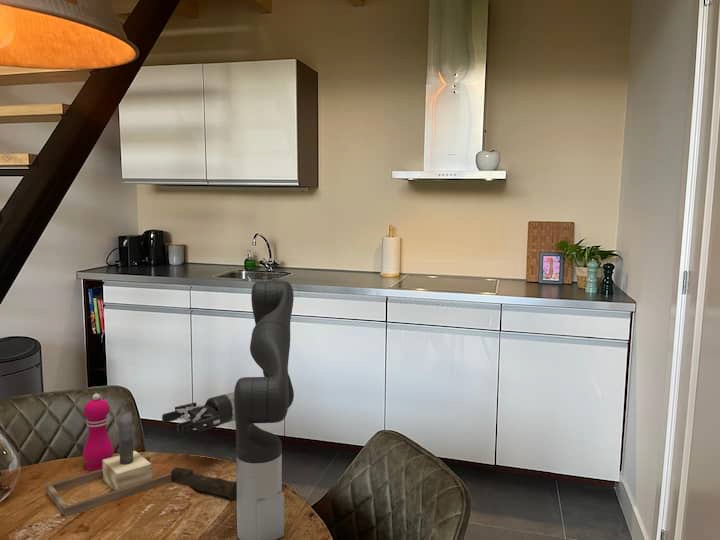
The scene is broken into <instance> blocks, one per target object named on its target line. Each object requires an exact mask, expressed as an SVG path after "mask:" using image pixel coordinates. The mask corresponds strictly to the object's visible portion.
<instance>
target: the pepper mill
mask: <svg viewBox="0 0 720 540" xmlns="http://www.w3.org/2000/svg"><path fill="white" fill-rule="evenodd" d="M109 413H110V405H109V402H108V401H107V400H105V399H102V398H101V396H100V394H99V393H94V394H93V395H92V399H91V400H89V401H88V402H86V403H85V405H84V407H83V415H84V417H85V418H86V419H85V422H86V426H87V427H88V436H87V440H86V442H85V444H84V447H83V450H82V458H83V460H84V461H85V462H86V463H85V465H84V467H85V469H86V470H89V471H97V470H100V469H103V466H102V460H103V459H107V458H110V457H113V455H114V453H115V452H114V450H115V449H114V445H113V443H112V441H111V438H110V437H109V435H108V432H107V424H108V423H109V418H108V414H109Z"/></svg>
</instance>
